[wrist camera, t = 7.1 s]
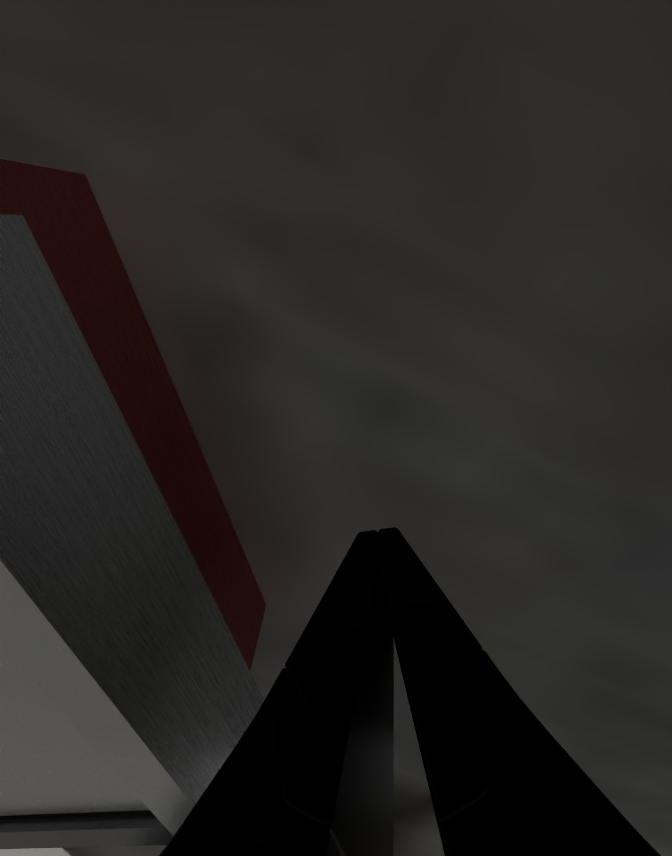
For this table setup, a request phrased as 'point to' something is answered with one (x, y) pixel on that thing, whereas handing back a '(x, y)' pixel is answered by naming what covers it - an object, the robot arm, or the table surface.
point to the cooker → (154, 434)
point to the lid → (96, 588)
